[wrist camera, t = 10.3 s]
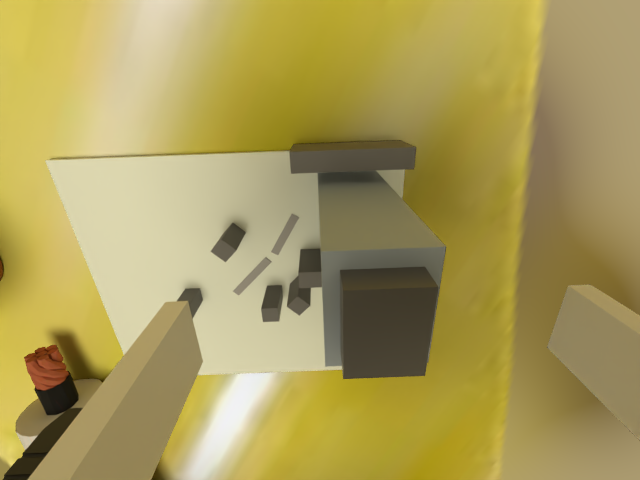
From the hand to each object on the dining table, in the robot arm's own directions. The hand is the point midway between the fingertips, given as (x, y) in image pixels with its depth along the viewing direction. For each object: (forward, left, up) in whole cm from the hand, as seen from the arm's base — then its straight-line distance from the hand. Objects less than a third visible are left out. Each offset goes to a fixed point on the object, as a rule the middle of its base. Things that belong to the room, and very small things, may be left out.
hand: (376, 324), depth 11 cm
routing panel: (-6, +8, -13) cm, 16 cm away
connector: (0, 0, -12) cm, 12 cm away
